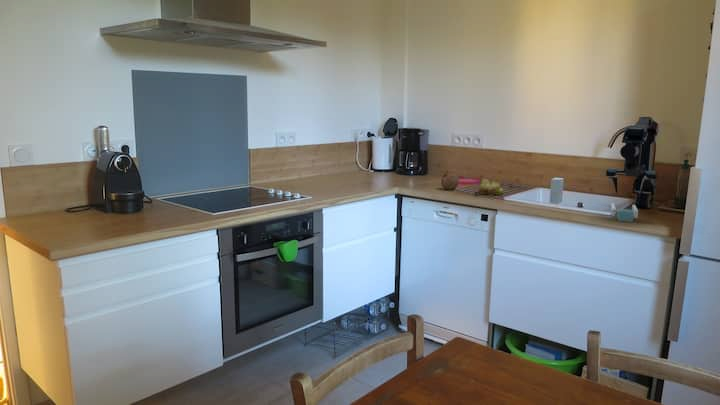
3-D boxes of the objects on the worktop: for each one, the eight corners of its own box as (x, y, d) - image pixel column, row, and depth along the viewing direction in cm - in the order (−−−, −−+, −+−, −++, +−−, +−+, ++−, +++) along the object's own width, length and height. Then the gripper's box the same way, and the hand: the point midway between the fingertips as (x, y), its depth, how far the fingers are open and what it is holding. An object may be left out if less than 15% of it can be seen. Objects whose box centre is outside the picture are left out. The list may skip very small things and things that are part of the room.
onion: (443, 195, 284) (435, 179, 282) (448, 188, 292) (441, 172, 289) (458, 191, 279) (451, 174, 276) (463, 184, 286) (456, 167, 284)
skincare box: (553, 201, 256) (555, 177, 254) (562, 202, 254) (564, 178, 251) (548, 203, 252) (551, 178, 249) (557, 204, 249) (560, 179, 247)
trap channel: (610, 209, 239) (611, 202, 238) (634, 211, 235) (635, 204, 235) (611, 216, 225) (612, 209, 225) (637, 218, 222) (638, 211, 221)
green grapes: (505, 194, 273) (506, 179, 272) (499, 197, 265) (500, 181, 264) (482, 191, 280) (483, 177, 279) (475, 194, 272) (476, 179, 271)
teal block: (617, 217, 223) (618, 208, 222) (631, 219, 221) (632, 210, 220) (617, 221, 217) (619, 211, 216) (632, 222, 215) (633, 213, 214)
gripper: (608, 157, 210) (604, 195, 213) (660, 160, 203) (655, 199, 206) (607, 154, 220) (603, 190, 224) (657, 157, 213) (652, 194, 216)
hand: (628, 193), depth 217 cm, fingers open, 9 cm apart
